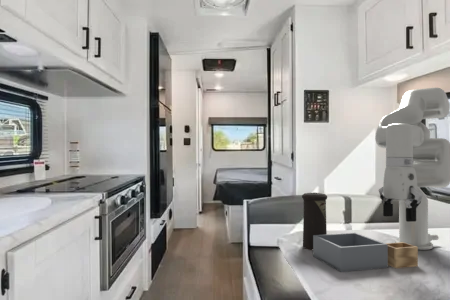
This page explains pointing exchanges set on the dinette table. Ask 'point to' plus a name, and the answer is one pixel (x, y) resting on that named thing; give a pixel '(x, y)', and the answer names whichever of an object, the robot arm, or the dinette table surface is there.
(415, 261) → the wooden crate
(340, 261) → the grey crate
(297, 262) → the dinette table surface
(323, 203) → the container
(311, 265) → the dinette table surface
